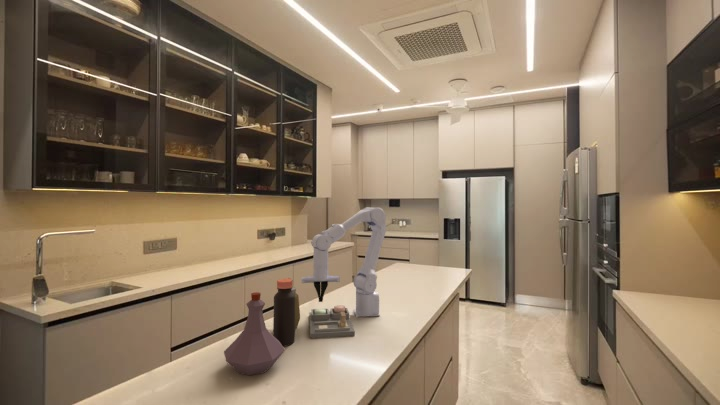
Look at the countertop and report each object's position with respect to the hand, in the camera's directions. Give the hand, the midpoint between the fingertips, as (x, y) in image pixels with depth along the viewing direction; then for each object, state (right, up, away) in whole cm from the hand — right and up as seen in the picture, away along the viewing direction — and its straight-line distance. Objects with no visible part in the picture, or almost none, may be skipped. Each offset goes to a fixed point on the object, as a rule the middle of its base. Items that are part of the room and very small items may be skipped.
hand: (320, 301), depth 125 cm
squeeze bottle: (-10, -8, -8) cm, 15 cm away
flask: (-14, -7, -36) cm, 39 cm away
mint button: (0, -6, 0) cm, 6 cm away
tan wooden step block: (+9, -6, -10) cm, 14 cm away
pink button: (+7, -5, +1) cm, 9 cm away
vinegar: (-9, -8, -20) cm, 23 cm away
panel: (+4, -8, -4) cm, 10 cm away
